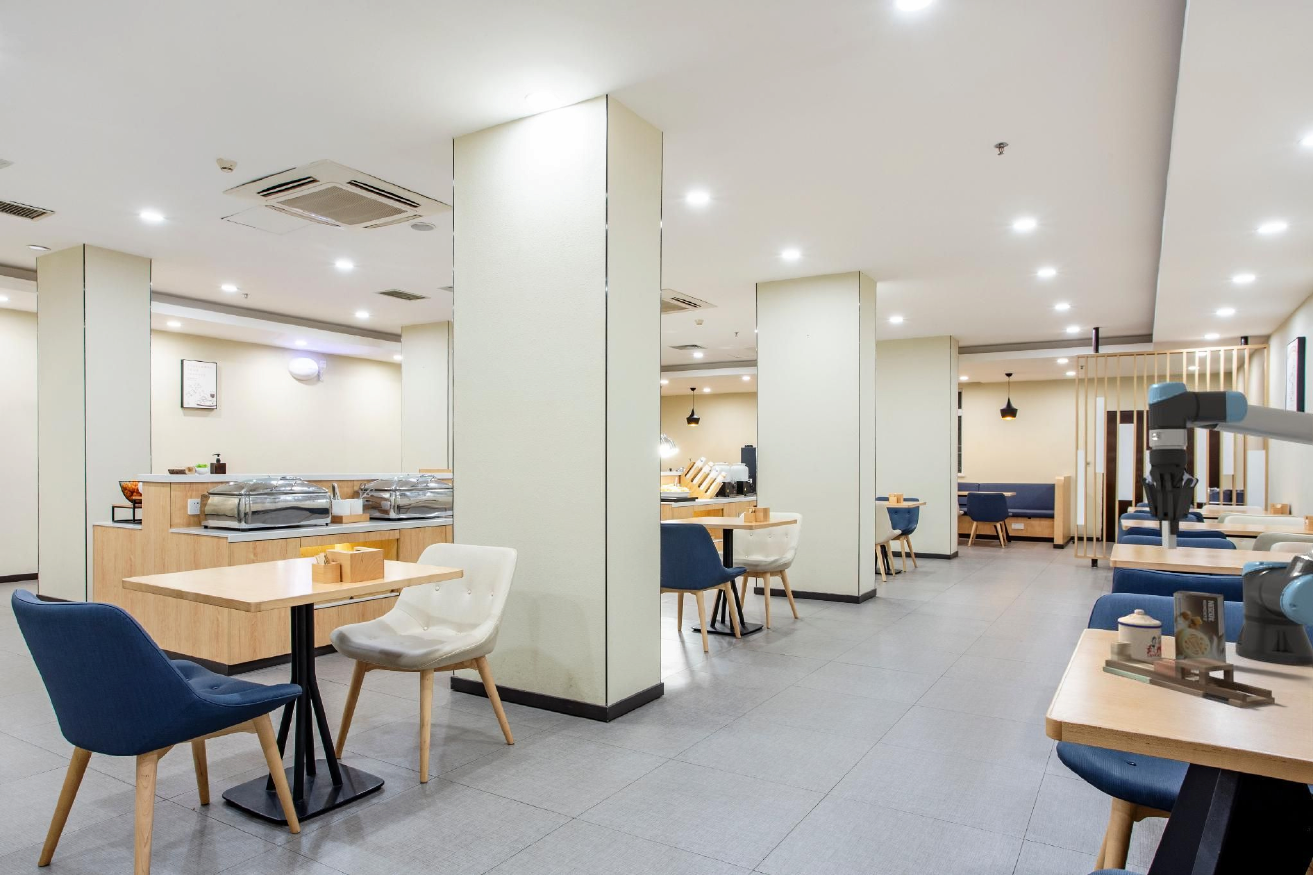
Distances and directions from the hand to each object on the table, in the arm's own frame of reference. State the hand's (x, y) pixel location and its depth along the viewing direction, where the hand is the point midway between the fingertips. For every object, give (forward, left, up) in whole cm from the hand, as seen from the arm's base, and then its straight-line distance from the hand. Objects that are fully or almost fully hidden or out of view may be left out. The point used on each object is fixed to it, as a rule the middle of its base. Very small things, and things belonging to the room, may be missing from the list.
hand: (1169, 548), depth 185 cm
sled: (+18, +10, -25) cm, 33 cm away
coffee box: (-7, +2, -27) cm, 28 cm away
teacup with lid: (+3, -5, -27) cm, 27 cm away
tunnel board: (+18, +15, -26) cm, 36 cm away
